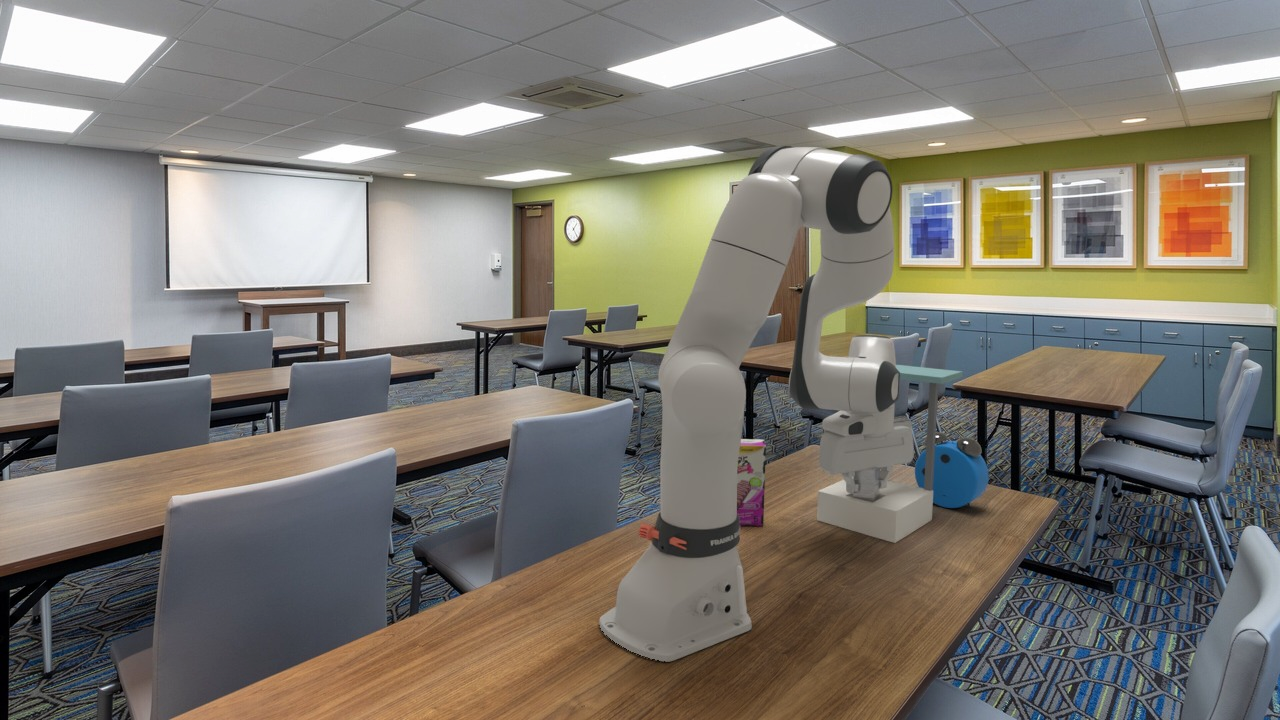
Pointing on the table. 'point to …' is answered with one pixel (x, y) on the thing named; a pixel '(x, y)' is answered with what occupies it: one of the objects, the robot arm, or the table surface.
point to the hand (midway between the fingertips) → (866, 490)
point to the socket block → (891, 482)
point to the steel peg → (867, 484)
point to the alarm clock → (954, 471)
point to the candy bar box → (751, 482)
